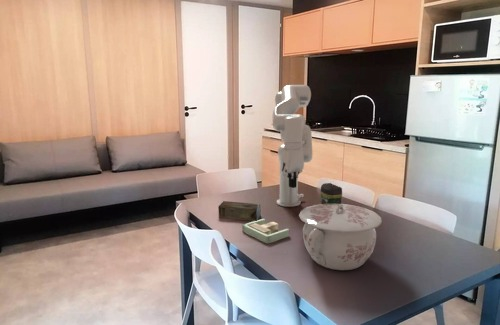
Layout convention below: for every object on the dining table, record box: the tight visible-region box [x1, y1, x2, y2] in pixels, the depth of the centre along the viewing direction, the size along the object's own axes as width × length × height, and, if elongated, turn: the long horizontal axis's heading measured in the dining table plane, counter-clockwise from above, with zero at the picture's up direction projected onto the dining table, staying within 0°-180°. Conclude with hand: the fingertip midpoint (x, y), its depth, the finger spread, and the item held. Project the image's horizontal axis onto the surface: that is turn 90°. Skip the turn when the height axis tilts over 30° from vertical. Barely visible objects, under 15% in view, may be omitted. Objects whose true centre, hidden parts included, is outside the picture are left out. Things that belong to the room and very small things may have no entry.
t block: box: [249, 221, 279, 235], centre depth 152 cm, size 10×10×4 cm
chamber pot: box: [298, 203, 383, 271], centre depth 125 cm, size 28×28×21 cm
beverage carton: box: [217, 200, 262, 221], centre depth 172 cm, size 8×19×7 cm, turn 75°
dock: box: [241, 218, 290, 244], centre depth 152 cm, size 12×16×3 cm
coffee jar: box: [320, 182, 343, 204], centre depth 159 cm, size 10×8×19 cm
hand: (292, 186), depth 158 cm, fingers closed
